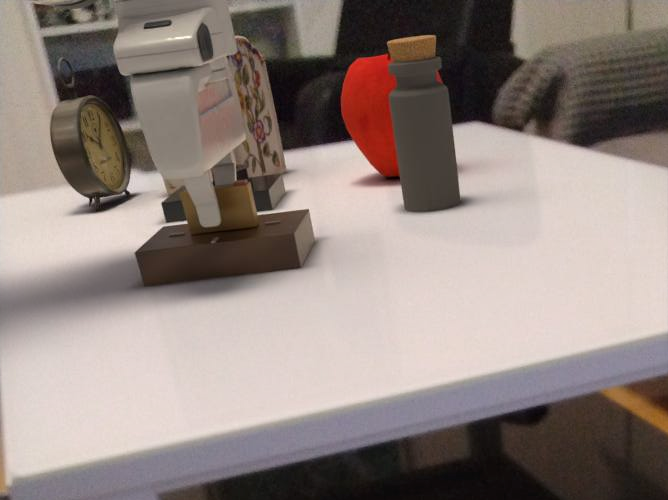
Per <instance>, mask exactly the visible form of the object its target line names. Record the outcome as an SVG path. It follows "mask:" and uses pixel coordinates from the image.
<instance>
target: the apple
mask: <svg viewBox="0 0 668 500" xmlns="http://www.w3.org/2000/svg"><path fill="white" fill-rule="evenodd" d="M391 62H393V61H392V58H391V55H390V51H389V48H388V47H387V53H386V54H382V55H381V54H380V55H375V56H369V57H358V58H356V59H355V61H353V62H352V63H351V64H350V65H349V67H348V68H347V72H346V74H345V77H344V80H343V84H342V89H341V90H342V91H341V94H340V95H341V96H340V108H341V109H340V110H341V117H342V120H343V123H344V125H345V128H346V131H347V132H348V134H349V135H350V138H351V139H352V140H353V142H354V144H355V145H356V148H358V150H359V151H360V153H362V155H363V156H364V158H365V159H366V160H367V161H368V163H369V164H370V166H372V167H373V168H374V170H376V171H377V172H378V173H379V174H380V175H382V176H384V177H385V178H390V177H400V174H399V167H398V160H397V153H396V146H395V139H394V132H393V124H392V117H391V110H390V102H389V94H390V93H391V91H392V90H393V89H394V88H396V86H397V83H396V77H395V76H392V75H390V74H389V69H388V64H389V63H391ZM437 80H438V81H439V82H441V83H442V84H444V83H443V80H442V78H441V76H440V73H439V70H437Z"/></svg>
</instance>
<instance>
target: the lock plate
mask: <svg viewBox="0 0 668 500" xmlns="http://www.w3.org/2000/svg"><path fill="white" fill-rule="evenodd" d="M257 215H258V220H259V224H258V225H257V226H256V227H251V228H243V229H234V230H226V231H218V232H210V233H201V234H193V235H191V234H190V231H189V227H188V223H182V224H181V223H180V224H172V225H163V226H162V227H161V228H160V229H158V230H157V232H155V233H154V234H153V235H152V236H151V237H150V238H149V239H148V240H146V241H145V242H144V243H143V244H142V245H141V246H140V247H138V249H136V250H135V251H134V256H135V259H136V262H137V266H138V270H139V273H140V277H141V281H142V283H143V286H144V287H150V286H158V285H167V284H168V285H169V284H175V283H184V282H194V281H201V280H209V279H218V278H227V277H235V276H244V275H253V274H262V273H269V272H277V271H285V270H286V271H287V270H293V269H302V267H303V265H304V264H305V261H306V259H307V257H308V255H309V254H310V252H311V250H312V249H313V246H314V244H315V243H316V239H315V238H316V237H315V234H314V229H313V228H314V227H313V223H312V218H311V213H310V209H309V208H305V209H295V210H288V211H279V212H272V213H264V214H263V213H262V214H257Z"/></svg>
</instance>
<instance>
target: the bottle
mask: <svg viewBox="0 0 668 500" xmlns="http://www.w3.org/2000/svg"><path fill="white" fill-rule="evenodd" d="M386 46H387V49H388V48H389V51H390V55H391V58H392V61H393V62H391V63H389V64H388V69H389V74H390V75H392V76H395V77H396V83H397V86H396V88H394V89H393V90H392V91H391V93H390V94H389V102H390V110H391V117H392V124H393V132H394V139H395V146H396V153H397V160H398V167H399V174H400V176H399V180H400V186H401V188H400V189H401V194H402V200H403V206H404V210H405V211H406V212H409V213H428V212H429V213H430V212H436V211H443V210H448V209H451V208H454V207H456V206H459V205H460V204H461V191H460V182H459V171H458V164H457V155H456V154H457V153H456V146H455V138H454V137H455V136H454V128H453V119H452V111H451V102H450V95H449V89H448V86H447V85H445V84H444V83H443V82H442V83H443V84H442V83H441V82H439V81H438V80H437V71H439V70H440V69H442V67H443V66H442V58H441V56H438V55H436V47H437V36H436V35H435V34H427V35H426V34H425V35H416V36H409V37H402V38H397V39H391V40H388V41H387V42H386Z"/></svg>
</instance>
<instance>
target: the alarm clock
mask: <svg viewBox="0 0 668 500" xmlns="http://www.w3.org/2000/svg"><path fill="white" fill-rule="evenodd" d="M63 61H64V63H65V64H66V65H67V67H68V69H69V71H70V75H71V83H68V84H67V83H66V82H65V81H64V78H63V75H62V68H61V67H62V62H63ZM57 71H58V72H57V73H58V77H59V79H60V82H61V84H62V85H63V86H64V88H65V89H66V90H67V92H68V97H69V99H66V100H63V101H60V102H59V103H58V104H57V105H55V107H54V109H53V111H52V113H51V115H50V121H49V137H50V143H51V149H52V152H53V155H54V159H55V162H56V165H57V166H58V168H59V170H60V171H61V172H60V173H61V174H62V176H63V177H64V179H65V181H66V182H67V183H68V184H69V186H70V187H71V189H73V190H74V191H75V192H77V193H78V194H80V196H83V197H84V198H87V199H88V206H89V207H91V205H92V203H93V202H94V205H95V207H94V212H95V213H97V212H100V211H101V208H100V204H101V199H102V198H108V197H112V196H120V195H122V194H123V193H124V195H125V196H127V197H129V196H131V192H130V191H129V190H128V187H129V184H130V180H131V173H132V164H131V163H132V162H131V156H130V151H129V146H128V143H127V139H126V137H125V133H124V130H123V128H122V126H121V124H120V122H119V120H118V118H117V117H116V114H115V113H114V111H113V110H112V109H111V108H110V106H109V105H108V104H107V103H106V102H105V101H104V100H102V99H101V98H100V97H98V96H95V95H90V94H89V95H86V96H82V97H79V96H78V94H77V92H76V91H75V90H76V89H75V81H76V80H75V75H74V71H73V68H72V66H71V63H70V61H68V59H67V58H65V57H64V56H62V57H60V58H59V59H58V61H57Z"/></svg>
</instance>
